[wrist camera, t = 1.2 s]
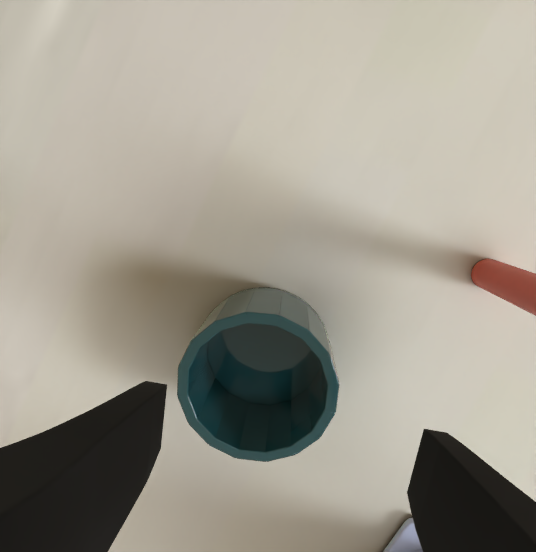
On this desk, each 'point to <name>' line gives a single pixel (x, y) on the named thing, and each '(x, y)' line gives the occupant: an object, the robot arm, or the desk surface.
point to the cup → (259, 376)
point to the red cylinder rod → (507, 283)
